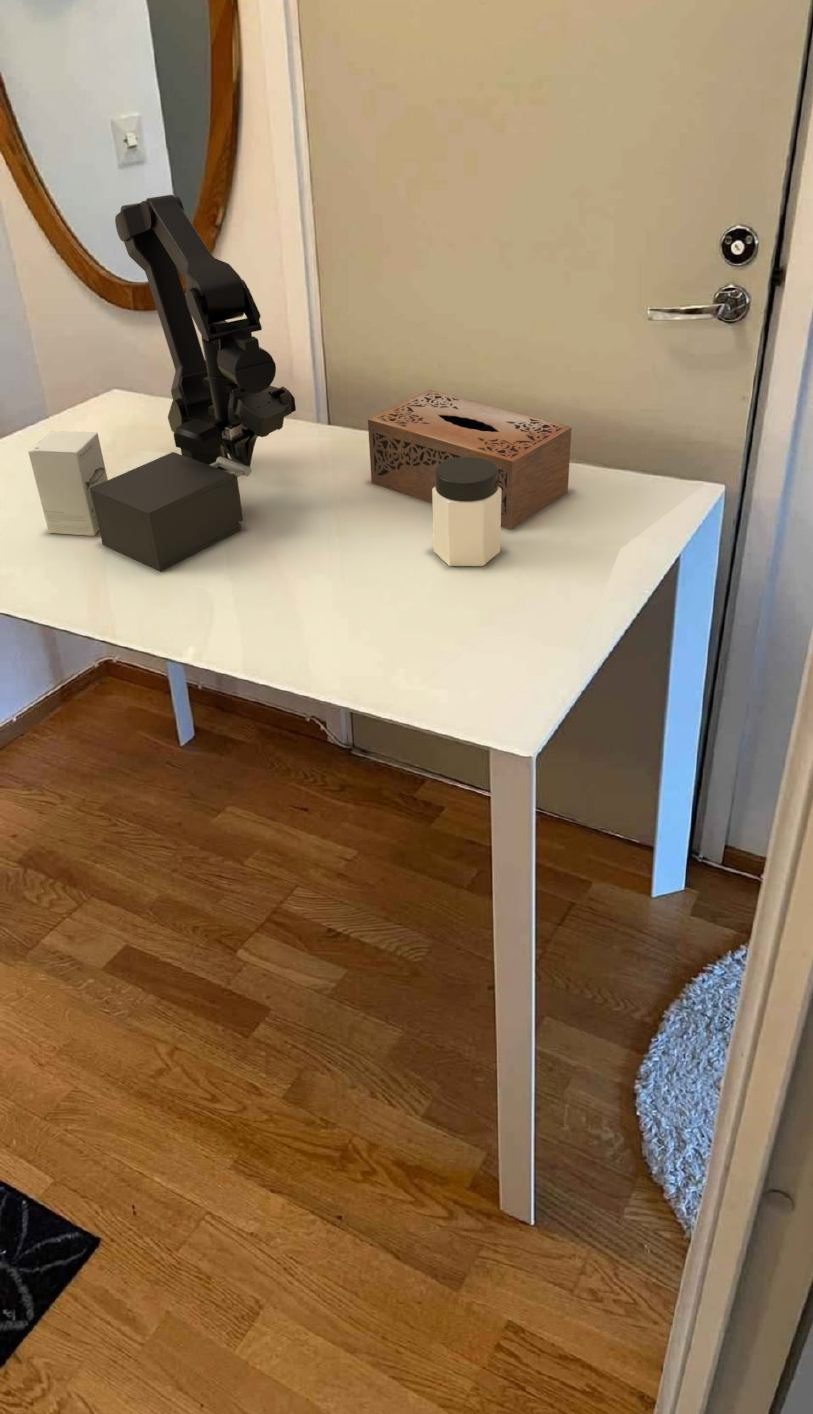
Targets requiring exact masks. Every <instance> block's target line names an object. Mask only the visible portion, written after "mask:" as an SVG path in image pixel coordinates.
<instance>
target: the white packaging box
mask: <svg viewBox="0 0 813 1414" xmlns="http://www.w3.org/2000/svg"><path fill="white" fill-rule="evenodd" d="M27 452H28V456H29V461H30V464H31V468H32V472H33V476H34V480H35V484H36V488H37V491H38V495H39V499H40V504H41V507H42V511H43V516H44V519H45V523H46V526H47V529H48V530H47V531H48V533H49V534H59V535H60V534H61V535H73V536H74V535H76V536H89V537H92V536H96V534H97V533H98V532H99V531H100V530H99V526H98V522H97V517H96V513H95V509H94V505H93V500H92V496H91V492H90V488H91V487H94V486H96V485H98V484H101V483H103V482H105V481H107V480H109V479H108V474H107V470H106V469H107V468H106V464H105V461H104V456H103V452H102V447H101V443H100V437H99V433H98V432H94V431H93V432H92V431H69V430H68V431H67V430H51V431H49V432H48V433H47V434H46V435H45V436H44V437H43V438H42V439H41V440H39V441H38V442H37V443H36V444H35V445H34V446H32V447H31V448H30V449H29V450H28V451H27Z"/></svg>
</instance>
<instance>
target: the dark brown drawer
mask: <svg viewBox="0 0 813 1414" xmlns="http://www.w3.org/2000/svg"><path fill="white" fill-rule="evenodd" d="M210 466H213V467H216V468H217V467H222V468H225V469H224V470H228V471H230V472H233V473H232V474H233V479H234V486H235V492H236V499H237V506H238V513H239V520H240V522H243V521H244V515H243V508H242V501H241V500H242V499H241V494H240V487H239V480H238V478H239V477H241V476H243V477H249V476H251V473H252V468H251V466H250V467H248V466H246V465H243V464H240V463H237V462H234V461H232V460H229V459H226V458H223V457H218V458H217V459H216V462H214V463H212V464H210Z"/></svg>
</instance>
